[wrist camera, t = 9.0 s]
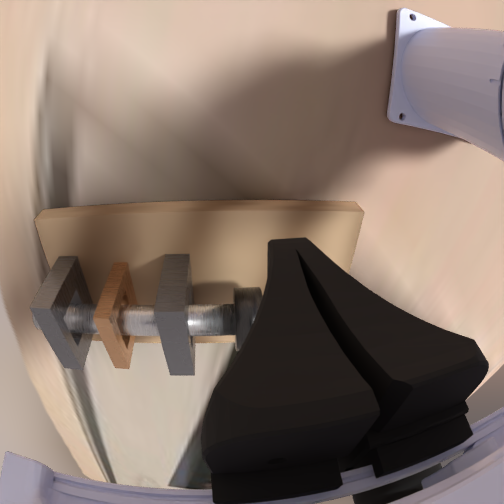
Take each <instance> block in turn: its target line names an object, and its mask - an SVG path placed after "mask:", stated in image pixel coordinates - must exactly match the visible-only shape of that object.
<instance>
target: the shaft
mask: <svg viewBox="0 0 504 504" xmlns="http://www.w3.org/2000/svg"><path fill="white" fill-rule="evenodd" d="M262 297H263V296H262V291H261V288H260V287H243V288H234V289H233V304H196V305H189V312H188V326H189V333H190V336H227V335H234V336H235V347H236V351H239V350H240V348H241V346H242V344H243V343H244V341H245V339H246V337H247V335H248V333H249V331H250V328H251V326H252V324H253V321H254V319H255V317H256V314H257V312H258V309H259V306H260V303H261V300H262ZM97 305H98V304H80V303H70V304H69V307H68V309H67V311H66V314H65V316H64V318H63V319H64V321H65V323H66V325H67V327H68V329H69V331H70V332H72V333H86V334H99V332H98V329H97V327H96V325H95V322H94V320H93V316H94V314H95V311H96V308H97ZM154 308H155V305H121V306H120V309H119V313H118V316H117V320H116V322H117V324H118V327H119V330H120V333H121V335H129V336H160V335H159V331H158V327H157V323H156V319H155V315H154ZM33 322H34V325H35V327H36V328H37V329H39V330H41V328H40V326H39V324H38V323H37V321H36V319H35V317H34V315H33Z"/></svg>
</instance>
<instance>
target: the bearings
mask: <svg viewBox="0 0 504 504" xmlns="http://www.w3.org/2000/svg"><path fill="white" fill-rule="evenodd" d="M70 303H80V304H94V303H93V301H92V298H91V295H90V292H89V289H88V287H87V284H86V281H85V278H84V275H83V272H82V269H81V265H80V262H79V259H78V256H59V257H58V258H57V260H56V262H55V263H54V265H53V267H52V268H51V270H50V272H49V273H48V275H47V277H46V279H45V280H44V282H43V284H42V285H41V287H40V289H39V291H38V293H37V294H36V296H35V298H34V300H33V302H32V304H31V306H30V309H31V311H32V313H33V315H34V317H35V319H36V321H37V323H38V324H39V326H40V328H41V330H42V332H43V333H44V335H45V337H46V339H47V340H48V342H49V344H50V346H51V347H52V349H53V351H54V352H55V354H56V355H57V357H58V359H59V360H60V362H61V363H62V365H63V366H64V368H70V369H78V370H83V369H84V365H85V361H86V358H87V354H88V351H89V347H90V344H91V341H92V338H93V334H86V333H72V332H70V331H69V329H68V327H67V325H66V323H65V321H64V319H63V318H64V316H65V314H66V311H67V309H68V307H69V304H70ZM121 305H138V303H137V299H136V295H135V291H134V287H133V283H132V279H131V275H130V271H129V266H128V262H114V264H113V266H112V269H111V271H110V274H109V276H108V279H107V281H106V284H105V286H104V289H103V292H102V294H101V297H100V300H99V302H98V305H97V308H96V311H95V314H94V316H93V320H94V322H95V325H96V327H97V329H98V332H99V334H100V336H101V339H102V341H103V343H104V345H105V347H106V350H107V352H108V354H109V356H110V358H111V360H112V362H113V364H114V366H115V368H122V369H129V367H130V362H131V356H132V351H133V346H134V341H135V336H129V335H121V333H120V330H119V327H118V324H117V322H116V320H117V316H118V313H119V309H120V306H121ZM189 305H195V304H194V294H193V284H192V274H191V263H190V254H165V258H164V262H163V267H162V272H161V277H160V282H159V287H158V292H157V297H156V302H155V308H154V315H155V319H156V323H157V327H158V331H159V335H160V339H161V343H162V347H163V351H164V354H165V358H166V361H167V365H168V369H169V372H170V375H195V337H196V336H190V333H189V326H188V312H189Z"/></svg>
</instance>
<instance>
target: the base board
mask: <svg viewBox="0 0 504 504" xmlns="http://www.w3.org/2000/svg"><path fill="white" fill-rule="evenodd" d="M363 216H364V211H363V210H362V209H361V207H360V206H359V205H358V204H357V203H356V202H345V201H310V200H204V201H169V202H144V203H124V204H107V205H92V206H78V207H66V208H54V209H43V210H42V211H41V213H40V214H39V215H38V216H37V217H36V218H35V219H34V221H35V225H36V228H37V231H38V235H39V238H40V241H41V244H42V247H43V250H44V253H45V256H46V258H47V261H48V264H49V267H50V269H51V268H52V267H53V265H54V263H55V262H56V260H57V258H58V257H59V256H78V259H79V262H80V265H81V269H82V272H83V275H84V278H85V281H86V284H87V287H88V289H89V292H90V295H91V298H92V301H93V303H94V304H98V302H99V300H100V297H101V294H102V292H103V289H104V286H105V284H106V281H107V279H108V276H109V274H110V271H111V269H112V266H113V264H114V262H128V266H129V271H130V275H131V279H132V283H133V287H134V291H135V295H136V299H137V303H138V305H155V302H156V297H157V292H158V287H159V282H160V277H161V272H162V267H163V262H164V258H165V254H190V263H191V274H192V284H193V294H194V304H195V305H196V304H233V289H234V288H243V287H260V288H261V291H262V296H263V293H264V290H265V286H266V282H267V251H268V242H269V241H270V240H272V239H286V238H301V237H306V238H308V239H309V240H310V241H311V242H312V243H313V244H314V245H316V246H317V247H318V248H319V249H320V250H321V251H322V252H323V253H324V254H325V255H327V256H328V257H329V258H330V259H331V260H332V261H333V262H335V263H336V264H337V265H338V266H339V267H340V268H342V269H343V270H344V271H345V272H347V273H348V274H349V270H350V266H351V263H352V259H353V255H354V252H355V248H356V244H357V240H358V236H359V232H360V228H361V224H362V220H363ZM92 340H94V341H102V339H101V336H100V334H93V338H92ZM134 342H135V343H161V339H160V336H135V341H134ZM225 342H235V336H234V335H227V336H196V337H195V343H225Z"/></svg>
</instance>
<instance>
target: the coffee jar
mask: <svg viewBox="0 0 504 504" xmlns="http://www.w3.org/2000/svg"><path fill="white" fill-rule="evenodd" d="M441 468H442V466H441V464H440V463H439V464H437V465H434V466H432V467H430V468H428V469H425V470H423V471H421V472H418V473H416V474H413V475H411V476H408V477H405V478H403V479H400V480H397V481H395V482H392V483H389V484H386V485H383V486H380V487H377V488H374V489H371V490H367V491H364V492H361V493H357V494H353V495H352V496H353V500H354V503H355V504H388V503H391V502H393V501H396V500H399V499H401V498H404V497H406V496H409V495H411V494H414V493H416V492H418V491H421V490H423V486H422V483H421V482H422V480H423V479H424V478H426V477H428V476H430V475H432V474H433V473H435V472H437V471H438V470H440V469H441Z"/></svg>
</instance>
